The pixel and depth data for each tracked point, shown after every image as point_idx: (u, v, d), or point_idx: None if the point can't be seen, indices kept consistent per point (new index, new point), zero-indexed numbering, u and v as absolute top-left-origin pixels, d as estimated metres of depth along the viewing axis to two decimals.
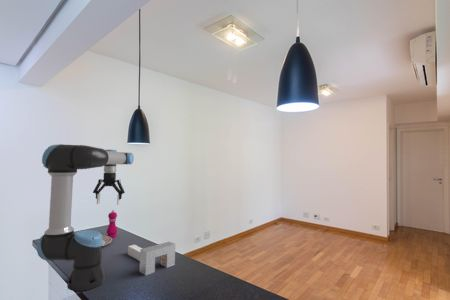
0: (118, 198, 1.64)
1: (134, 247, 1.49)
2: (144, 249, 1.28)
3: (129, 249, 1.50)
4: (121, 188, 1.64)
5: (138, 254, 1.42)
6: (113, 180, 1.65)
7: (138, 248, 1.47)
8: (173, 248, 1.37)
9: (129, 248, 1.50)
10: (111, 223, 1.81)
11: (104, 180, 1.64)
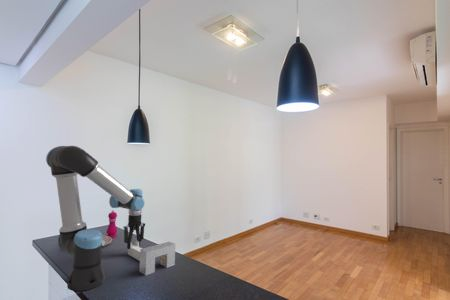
0: None
1: (134, 247, 1.49)
2: (144, 249, 1.28)
3: None
4: (124, 236, 1.47)
5: (138, 254, 1.42)
6: None
7: (138, 248, 1.47)
8: (173, 248, 1.37)
9: None
10: (111, 223, 1.81)
11: None
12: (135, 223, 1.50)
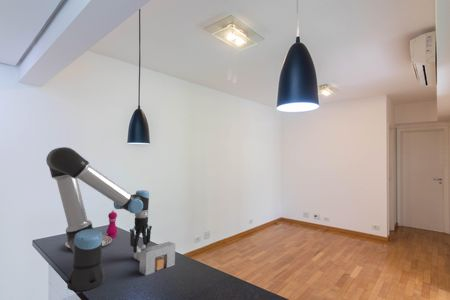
0: None
1: None
2: (144, 249, 1.28)
3: None
4: (130, 240, 1.42)
5: None
6: None
7: None
8: (173, 248, 1.37)
9: None
10: (111, 223, 1.81)
11: None
12: (142, 226, 1.45)
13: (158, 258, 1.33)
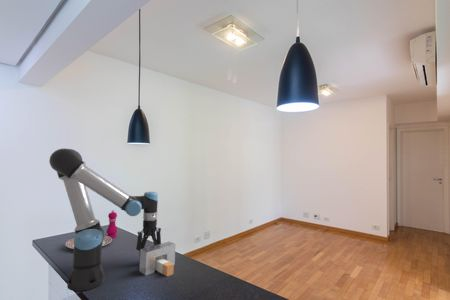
0: None
1: None
2: (144, 249, 1.28)
3: None
4: (137, 243, 1.35)
5: None
6: None
7: None
8: (173, 248, 1.37)
9: None
10: (111, 223, 1.81)
11: None
12: (150, 229, 1.39)
13: (168, 263, 1.27)
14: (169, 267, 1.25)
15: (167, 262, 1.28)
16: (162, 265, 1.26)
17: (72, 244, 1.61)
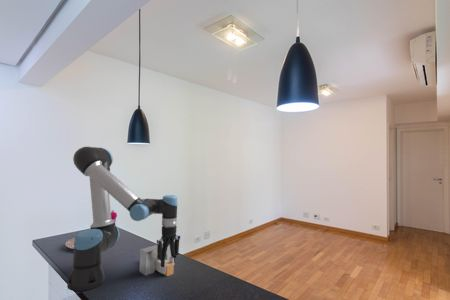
0: None
1: None
2: (144, 249, 1.28)
3: None
4: (157, 252, 1.23)
5: None
6: None
7: None
8: None
9: None
10: None
11: None
12: (170, 236, 1.26)
13: (168, 263, 1.27)
14: (169, 267, 1.25)
15: (167, 262, 1.28)
16: None
17: (72, 244, 1.61)
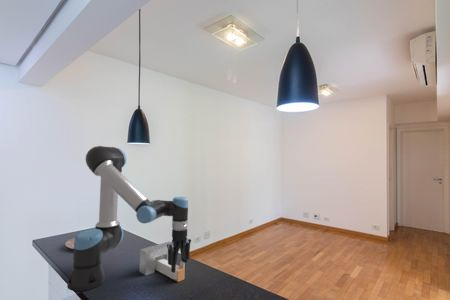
0: None
1: (158, 259, 1.32)
2: (144, 249, 1.28)
3: None
4: None
5: (164, 267, 1.25)
6: None
7: (163, 260, 1.30)
8: None
9: None
10: None
11: None
12: (180, 240, 1.21)
13: (179, 268, 1.21)
14: (180, 272, 1.19)
15: (178, 267, 1.22)
16: None
17: (72, 244, 1.61)
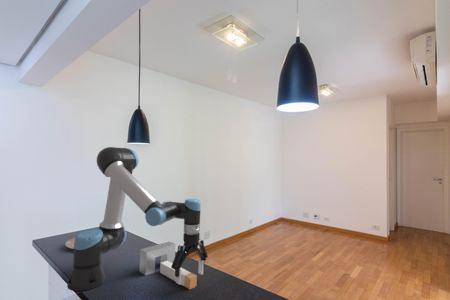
0: None
1: (168, 264, 1.26)
2: (144, 249, 1.28)
3: (162, 266, 1.26)
4: None
5: (174, 273, 1.19)
6: None
7: None
8: (173, 248, 1.37)
9: (162, 265, 1.27)
10: None
11: None
12: (192, 244, 1.14)
13: (190, 275, 1.15)
14: (192, 279, 1.13)
15: (189, 273, 1.16)
16: (184, 277, 1.14)
17: (72, 244, 1.61)
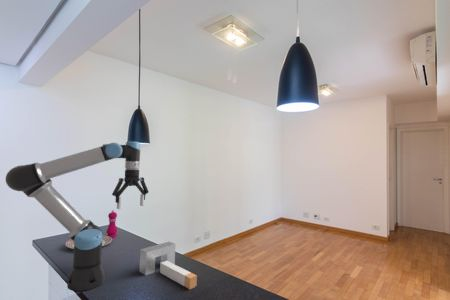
0: None
1: (168, 264, 1.26)
2: (144, 249, 1.28)
3: (162, 266, 1.26)
4: None
5: (174, 273, 1.19)
6: None
7: (173, 266, 1.24)
8: (173, 248, 1.37)
9: (162, 265, 1.27)
10: (111, 223, 1.81)
11: None
12: (132, 178, 1.36)
13: (190, 275, 1.15)
14: (192, 279, 1.13)
15: (189, 273, 1.16)
16: (184, 277, 1.14)
17: (72, 244, 1.61)
